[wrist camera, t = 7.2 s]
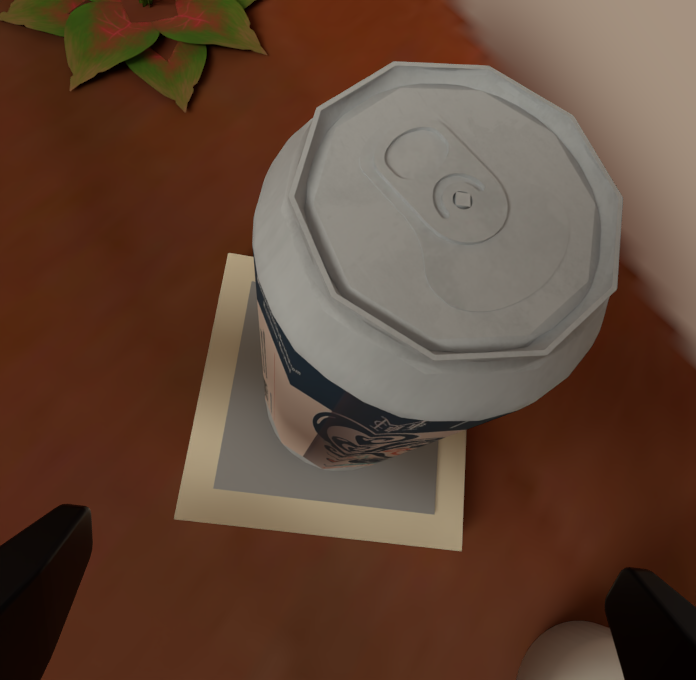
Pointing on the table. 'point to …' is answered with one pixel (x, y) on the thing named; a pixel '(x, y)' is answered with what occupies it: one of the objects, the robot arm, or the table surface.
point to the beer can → (427, 261)
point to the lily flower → (139, 38)
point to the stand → (291, 472)
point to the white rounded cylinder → (572, 654)
